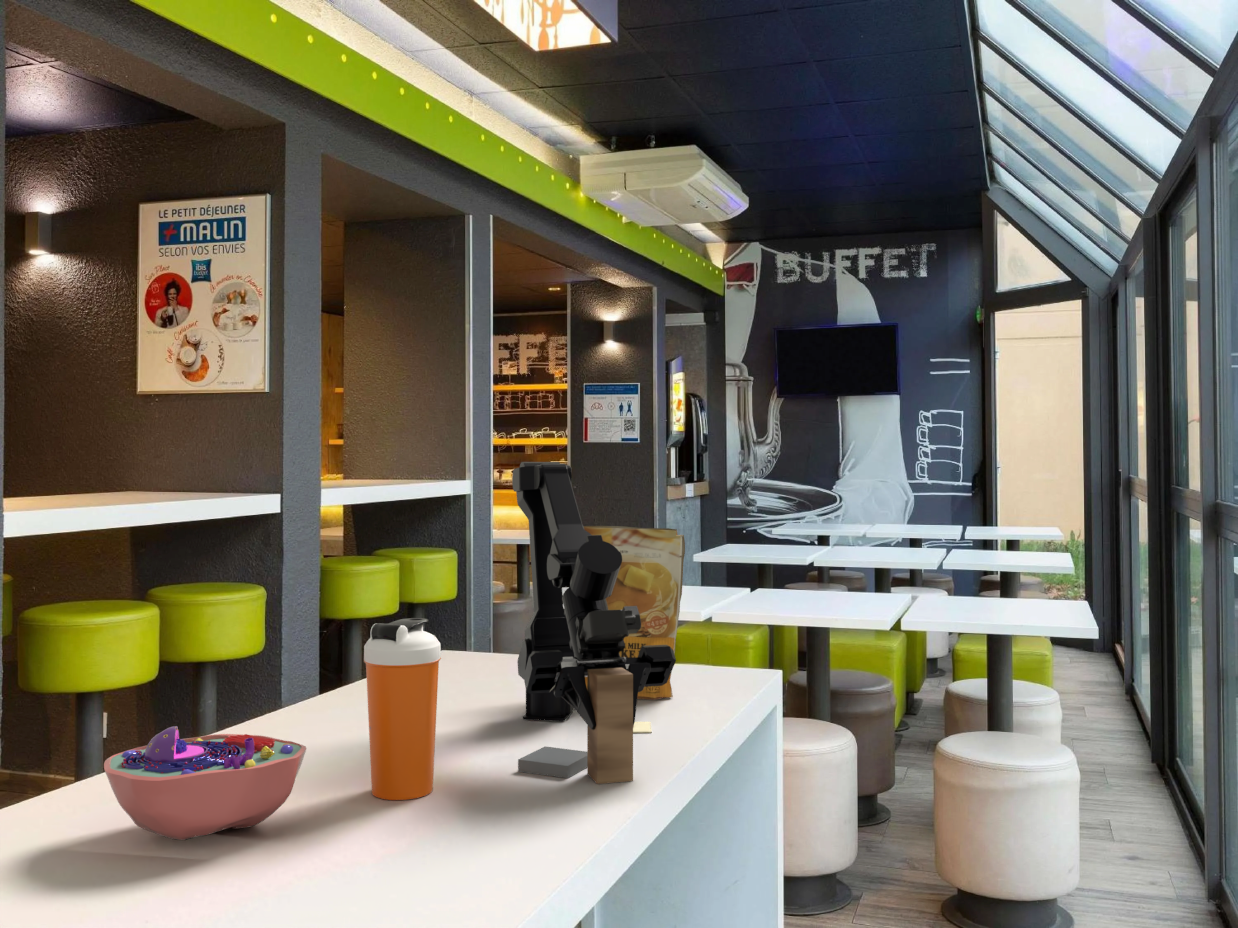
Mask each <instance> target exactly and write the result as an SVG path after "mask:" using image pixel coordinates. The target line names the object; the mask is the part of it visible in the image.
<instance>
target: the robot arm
mask: <svg viewBox="0 0 1238 928" xmlns="http://www.w3.org/2000/svg"><path fill="white" fill-rule="evenodd" d="M572 469H573V468H572V466H570V465H568V464H566V463H561V462H559V461H521V462H520V464H519V467H517V468H513V471H512V477H511V480H512V481H511V482H512V484H511V485H512V489H513V492H515V493H516V502H517V503H516V504H517V505H518V507H519V508H520V510H521V511H522V513H523V515H524V516H525V517H526V519H528V531H529V535H528V536H529V548H530V564H531V565H530V567H531V569H530V570H531V581H532V582H531V583H532V599H533V614H532V616H531V618H530V620H529V621H528V624H527V625H526V627H525V629H524V638H523V639H522V641H521V644H520V645H521V646H520V650H519V653H518V658H517V673H518V676H519V677H520V678H521V679H523V681H524V686H525V688H524V689H525V713H524V714H523V715H522V720H523V721H524V720H525V721H526V720H527V721H528V720H529V721H547V722H548V721H549V722H552V721H553V722H565V721H566V720H567V719H568V718H569V717H570V716H571V715H572V714H573V712H574V710H575V712H577V714H578V715H579V717H581V719H582V720H583V721H584V722H585V724H586V725H588V726H589V727H590V728H591V729H592V730H594V729H595V727H596V721H595V714H594V711H593V707H592V704H591V700H590V697H589V694H588V690H587V687H586V683H585V677H588V669H605V668H624V669H625V670H627V671H629V672H630V673H632V674H633V725H634V722H636V713H637V703H638V699H637V696H638V692H641V691H642V690H643V689H644V687H648V686H662V685H664V684H666V683H667V681H668V679H669V676H670V674H671V675H672V671H673V668H674V667H675V663H676V662H677V660H676V655H675V653H674V651H673V649H672V648H671V647H670V646H668V645H649V646H642V647H641V649H640V652H639V655H638V657H635V658H626V657H620V654H619V652H620V651H624V648H625V643H624V638H625V637H628V636H629V634H633V633H637V632H638V631H639V630H640V629H641V618H640V614H639V611H638V608H637V606H624V607H623V609H622V610H609V609H608V605H607V601H606V598H607V597H609V596H611V594H612V592H613V588H614V585H615V582H616V579H617V576H618V573H619V570H620V567H621V563H622V555H621V553H620V552H619V551H618V549H617V548H615V547H614V546H613V545H611V544H610V543H607V542H605V541H603V539H602V536H601V535H591V534H590V533H589V532H587V531H586V530H585V529H584V527H583V526H584V525H583V521H582V517H581V514H580V510H579V505H578V503H577V499H576V495H575V493H574V489H573V478H572V475H573V474H572V473H573V472H572V471H573V470H572ZM563 588H567V589H566V590H564V593H563Z"/></svg>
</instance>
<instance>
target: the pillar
mask: <svg viewBox="0 0 1238 928" xmlns="http://www.w3.org/2000/svg"><path fill="white" fill-rule="evenodd" d="M587 690H588V694H589V697H590V700H591V704H592V707H593V711H594V714H595V721H596V727H595V729H594V730H592V729H591V728H590V727H589V726H588V725H587V724H586V725H587V729H586V730H587V734H586V735H587V739H586V740H587V741H586V742H587V750H586V752H587V768H586V769H587V775H588V776H589V778H591V779H592V780H593V781H594V783H596V784H597V785H603V784H611V783H612V784H613V783H624V782H634V733H633V674H632V673H630V672H629V671H627V670H625V669H624V668H605V669H588V680H587Z"/></svg>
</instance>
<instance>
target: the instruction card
mask: <svg viewBox="0 0 1238 928" xmlns="http://www.w3.org/2000/svg"><path fill="white" fill-rule="evenodd" d="M633 734H652V722H651V721H635V722H634V725H633Z"/></svg>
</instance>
